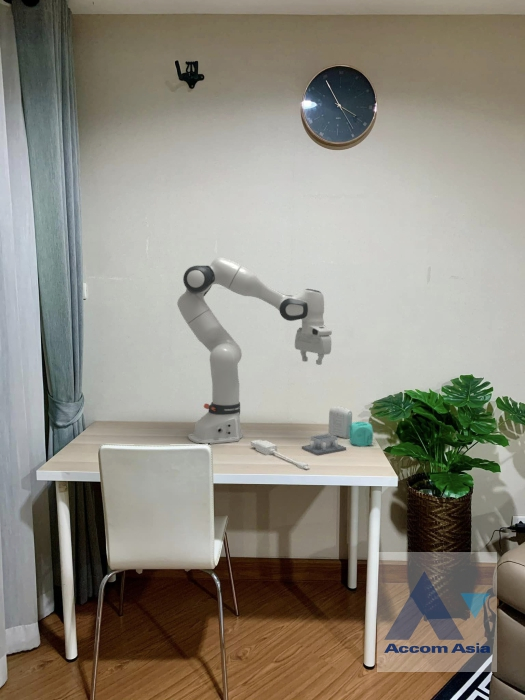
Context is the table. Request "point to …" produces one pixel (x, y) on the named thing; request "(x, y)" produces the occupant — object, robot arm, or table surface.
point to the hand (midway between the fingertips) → (311, 362)
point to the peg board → (323, 448)
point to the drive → (325, 438)
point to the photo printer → (340, 422)
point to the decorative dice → (361, 434)
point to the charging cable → (274, 451)
